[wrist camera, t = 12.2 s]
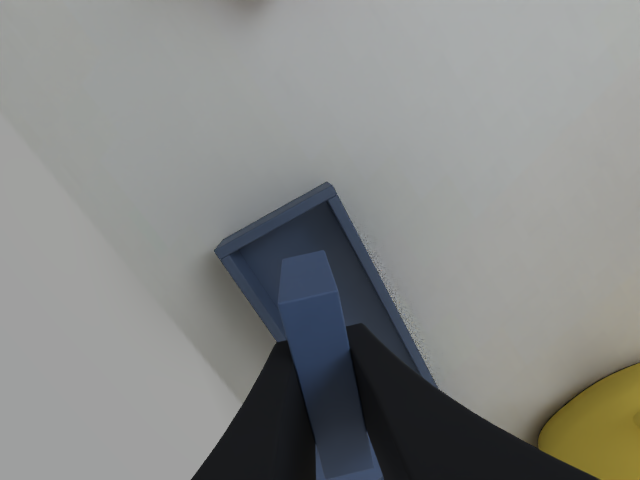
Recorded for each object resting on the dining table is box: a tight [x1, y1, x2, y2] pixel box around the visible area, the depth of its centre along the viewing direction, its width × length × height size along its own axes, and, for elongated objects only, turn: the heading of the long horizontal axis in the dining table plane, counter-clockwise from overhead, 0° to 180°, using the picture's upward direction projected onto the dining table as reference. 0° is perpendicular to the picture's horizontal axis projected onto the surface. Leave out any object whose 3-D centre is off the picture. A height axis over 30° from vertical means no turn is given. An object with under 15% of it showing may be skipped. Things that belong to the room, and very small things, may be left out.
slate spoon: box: [278, 250, 383, 480], centre depth 9 cm, size 8×4×3 cm, turn 11°
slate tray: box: [214, 182, 438, 480], centre depth 17 cm, size 25×6×2 cm, turn 28°
